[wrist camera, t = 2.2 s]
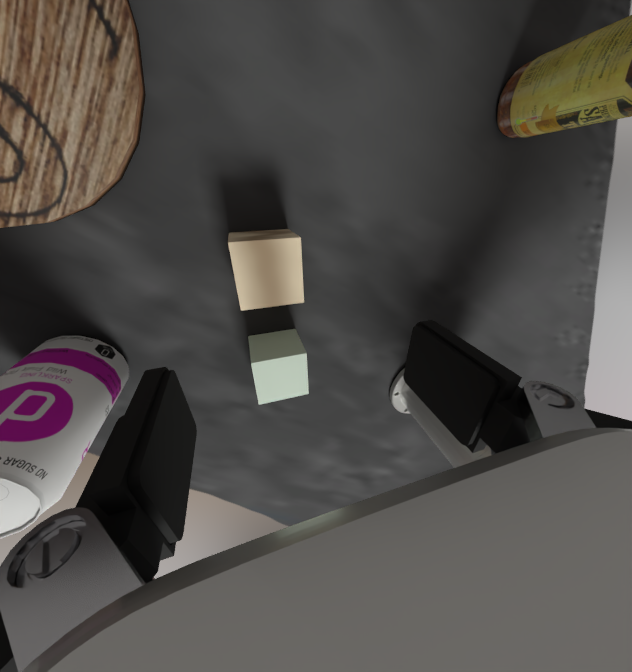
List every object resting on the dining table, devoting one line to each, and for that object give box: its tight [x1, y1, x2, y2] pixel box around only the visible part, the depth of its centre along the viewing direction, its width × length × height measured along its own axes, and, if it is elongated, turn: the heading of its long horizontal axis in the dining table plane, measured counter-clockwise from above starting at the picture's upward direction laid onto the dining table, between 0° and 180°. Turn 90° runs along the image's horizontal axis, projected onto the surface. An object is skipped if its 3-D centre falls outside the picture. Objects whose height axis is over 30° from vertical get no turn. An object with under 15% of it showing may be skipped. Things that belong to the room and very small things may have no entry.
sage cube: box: [248, 329, 309, 405], centre depth 31 cm, size 6×6×6 cm
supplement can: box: [0, 336, 129, 539], centre depth 21 cm, size 8×8×15 cm
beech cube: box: [228, 229, 304, 311], centre depth 25 cm, size 6×6×6 cm
